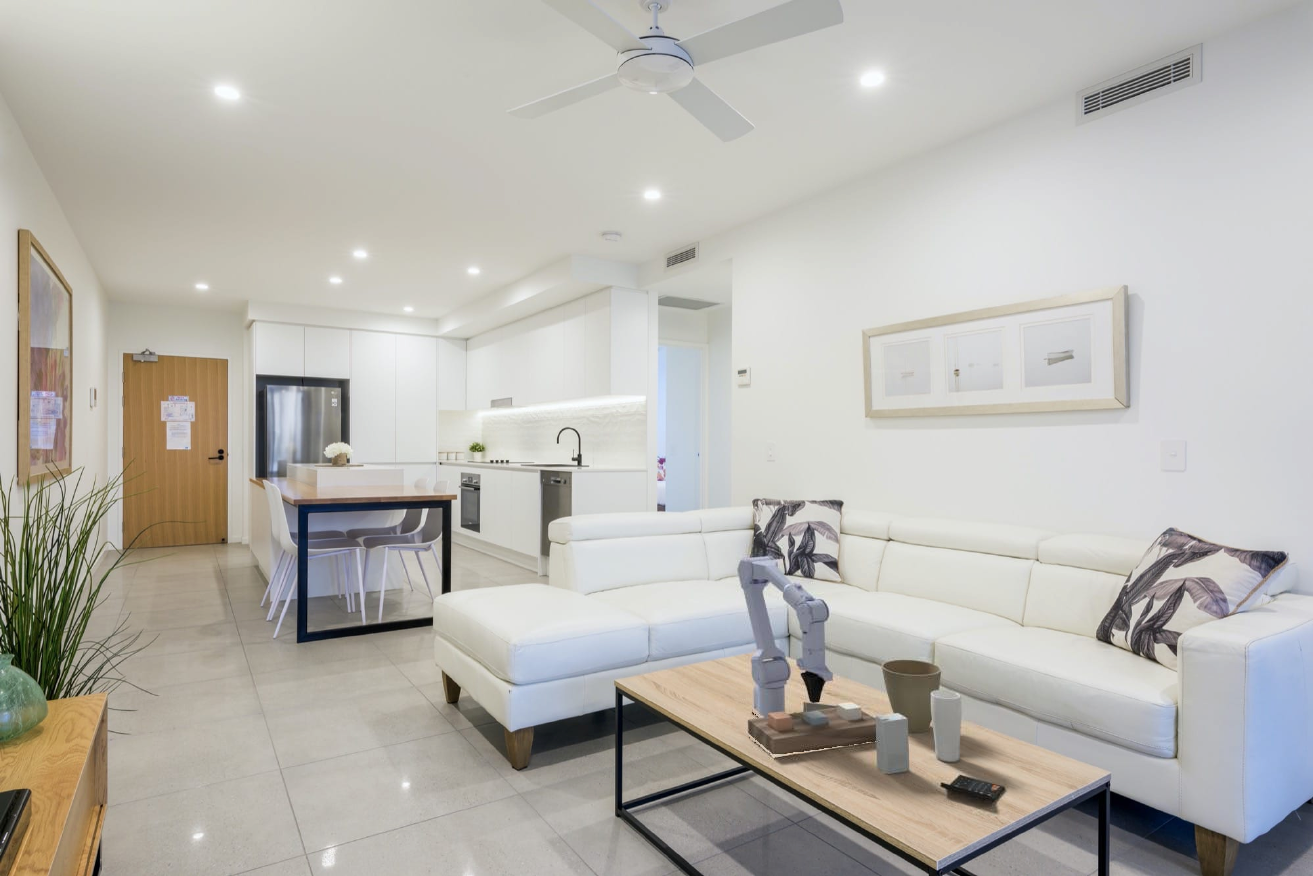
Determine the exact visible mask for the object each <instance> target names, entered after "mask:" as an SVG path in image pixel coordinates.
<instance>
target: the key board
mask: <svg viewBox="0 0 1313 876" xmlns="http://www.w3.org/2000/svg"><path fill="white" fill-rule="evenodd" d="M813 711H819V712H821V713H822V714H824V715H826V716H827V724H822V725H815V726H811V725H809V724H808V723H806V722H805V721H803V713H806V712H813ZM787 714H788V715H790V716H791V717H792V729H788V730H781V731H775V730H773V729H772V728H771V727H769V726H768V717H763V718H758V717H757V718H750V719H747V732H748V733H749V734H750V735H751V736H752V737H753V738H755V740H757V741H758V742H759V743H760V744H762V745H763V746H764V747H765V748H766V749H767V750H769V751H770V752H771V753H772V754H787V753H793V752H804V751H810V750H819V749H824V748H832V747H837V746H849V745H854V744H862V743H866V742H875V741H876V717H874V716H872V715H870V714H868V713H867V712H865V711H863V710H861V719H857V720H850V721H845V720H844V719H842V718H840V717H839V716H837V706H836V707H829V708H821V709H815V710H808V711H800V712H793V713H787ZM748 733H747V734H748ZM875 743H876V742H875ZM862 745H863V744H862ZM849 747H850V746H849Z"/></svg>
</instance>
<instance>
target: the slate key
mask: <svg viewBox="0 0 1313 876" xmlns="http://www.w3.org/2000/svg"><path fill="white" fill-rule="evenodd" d="M812 711H813V712H807V711H805V712H806V713H803V721H805V722H806V723H808V724H809V725H811V726H815V725H822V724H827V716H826V715H824V714H822V713H821V712H819V711H814V710H812Z"/></svg>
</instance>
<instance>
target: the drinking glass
mask: <svg viewBox="0 0 1313 876" xmlns="http://www.w3.org/2000/svg"><path fill="white" fill-rule="evenodd" d="M962 710H963V709H962V698H961V694H960V693H958V692H956V691H951V690H945V689H939V690H935V691H932V692H931V715H932V720H931V723H932V730H933V731H932V732H933V741H934V752H935V753H934V754H935V757H936V758H937V759H938V760H940V761H942V762H946V763H947V762H948V763H955V762H958V761H959V760H960V747H961V746H960V744H961V729H962V715H963V714H962V712H963V711H962Z"/></svg>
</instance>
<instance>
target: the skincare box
mask: <svg viewBox="0 0 1313 876" xmlns="http://www.w3.org/2000/svg"><path fill="white" fill-rule="evenodd" d="M875 718H876V742H875V743H876V768H878V769H879V770H880V771H881V772H882V773H884V774H886V775H891V774H899V773H905V772H910V749H909V747H910V746H909V744H910V743H909V732H908V719H907V718H906V717H904V716H902V715H900V714H898V713H888V714H880V715H879V714H877V715H875Z"/></svg>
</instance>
